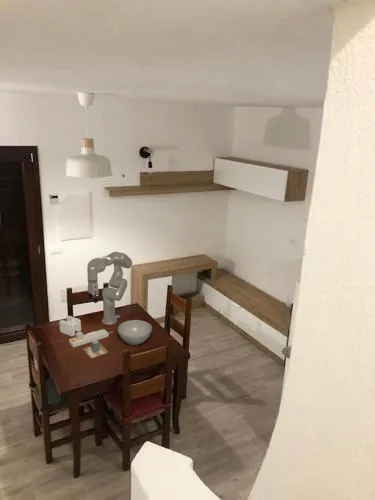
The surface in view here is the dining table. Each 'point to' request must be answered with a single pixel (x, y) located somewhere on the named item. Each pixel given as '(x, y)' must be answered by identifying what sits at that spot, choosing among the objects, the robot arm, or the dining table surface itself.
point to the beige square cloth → (92, 354)
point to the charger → (95, 346)
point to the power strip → (88, 337)
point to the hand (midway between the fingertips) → (93, 300)
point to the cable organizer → (70, 326)
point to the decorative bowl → (134, 331)
